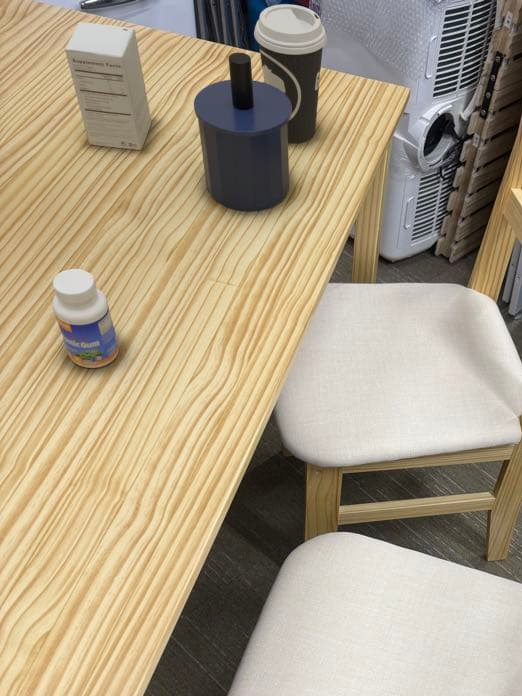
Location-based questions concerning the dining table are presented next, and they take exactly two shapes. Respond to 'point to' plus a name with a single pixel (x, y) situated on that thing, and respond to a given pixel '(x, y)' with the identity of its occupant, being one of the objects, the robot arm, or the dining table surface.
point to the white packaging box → (109, 85)
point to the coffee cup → (293, 61)
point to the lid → (242, 103)
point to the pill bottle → (84, 319)
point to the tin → (246, 168)
